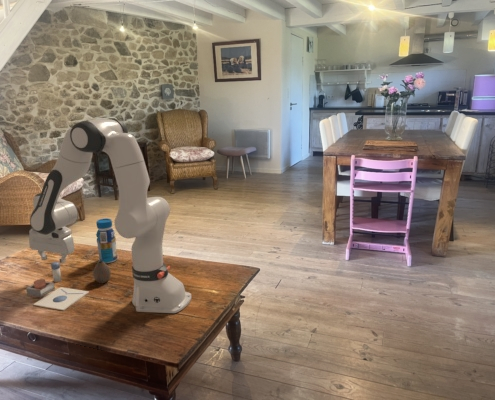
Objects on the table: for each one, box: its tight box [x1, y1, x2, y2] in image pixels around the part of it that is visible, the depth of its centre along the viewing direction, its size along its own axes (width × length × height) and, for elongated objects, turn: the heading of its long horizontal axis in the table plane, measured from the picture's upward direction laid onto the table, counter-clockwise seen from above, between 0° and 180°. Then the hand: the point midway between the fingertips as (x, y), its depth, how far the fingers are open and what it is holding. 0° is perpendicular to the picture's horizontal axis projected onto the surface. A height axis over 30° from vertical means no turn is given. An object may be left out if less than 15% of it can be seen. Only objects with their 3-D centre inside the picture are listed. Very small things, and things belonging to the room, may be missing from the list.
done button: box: [33, 278, 46, 289], centre depth 155 cm, size 4×4×3 cm
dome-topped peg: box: [50, 261, 62, 283], centre depth 164 cm, size 3×3×8 cm
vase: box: [92, 260, 112, 284], centre depth 164 cm, size 7×7×9 cm
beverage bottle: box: [95, 218, 118, 264], centre depth 183 cm, size 8×8×20 cm
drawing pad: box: [33, 286, 90, 312], centre depth 151 cm, size 14×14×1 cm
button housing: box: [25, 280, 56, 299], centre depth 156 cm, size 7×7×3 cm
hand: (53, 261), depth 163 cm, fingers open, 8 cm apart
